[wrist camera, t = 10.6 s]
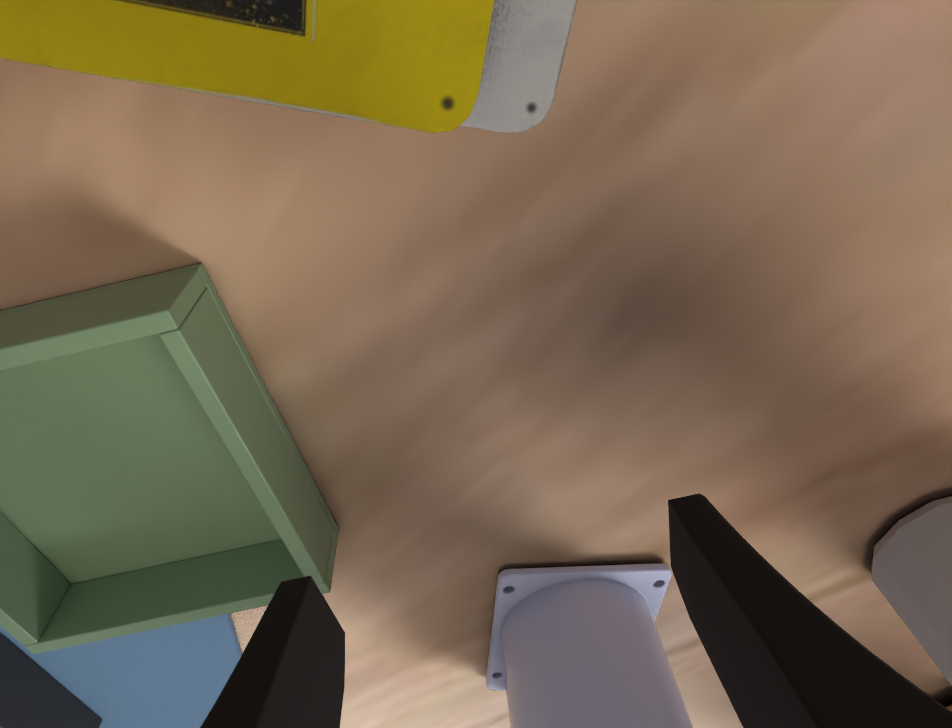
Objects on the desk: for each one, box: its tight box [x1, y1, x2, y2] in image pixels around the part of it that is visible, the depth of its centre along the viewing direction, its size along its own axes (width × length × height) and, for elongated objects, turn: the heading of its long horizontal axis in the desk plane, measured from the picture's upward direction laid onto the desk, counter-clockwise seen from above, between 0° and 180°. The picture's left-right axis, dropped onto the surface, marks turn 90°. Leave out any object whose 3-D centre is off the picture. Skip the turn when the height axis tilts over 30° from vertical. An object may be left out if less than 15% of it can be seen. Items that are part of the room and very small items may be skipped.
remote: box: [0, 633, 102, 728], centre depth 26 cm, size 8×3×3 cm, turn 12°
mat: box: [0, 613, 242, 728], centre depth 29 cm, size 14×22×1 cm, turn 87°
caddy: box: [0, 263, 339, 654], centre depth 20 cm, size 12×12×3 cm
